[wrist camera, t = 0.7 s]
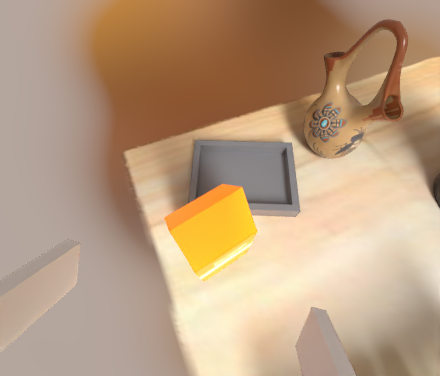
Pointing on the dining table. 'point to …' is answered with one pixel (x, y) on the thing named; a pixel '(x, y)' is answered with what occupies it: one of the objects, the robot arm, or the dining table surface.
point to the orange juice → (213, 229)
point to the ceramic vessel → (353, 99)
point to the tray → (248, 174)
